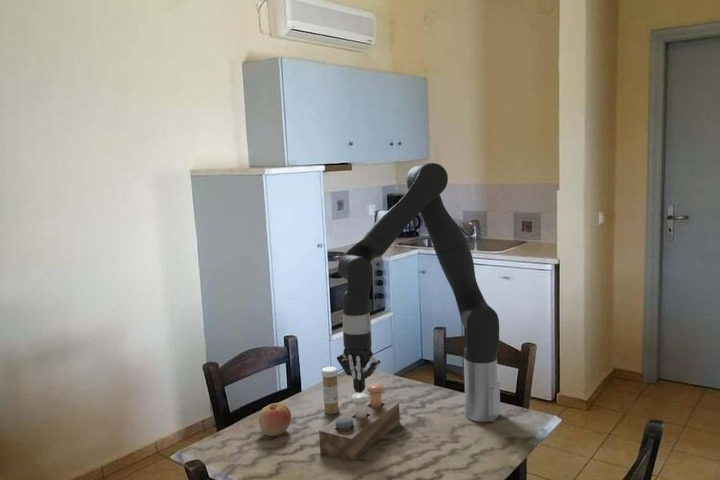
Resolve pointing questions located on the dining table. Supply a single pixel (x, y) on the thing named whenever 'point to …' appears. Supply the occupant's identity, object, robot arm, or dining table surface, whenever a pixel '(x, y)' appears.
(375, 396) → the terracotta plug
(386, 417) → the walnut block
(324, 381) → the sprinkles bottle
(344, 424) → the charcoal plug
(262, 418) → the apple
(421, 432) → the dining table surface
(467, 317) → the robot arm
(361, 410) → the cream plug
